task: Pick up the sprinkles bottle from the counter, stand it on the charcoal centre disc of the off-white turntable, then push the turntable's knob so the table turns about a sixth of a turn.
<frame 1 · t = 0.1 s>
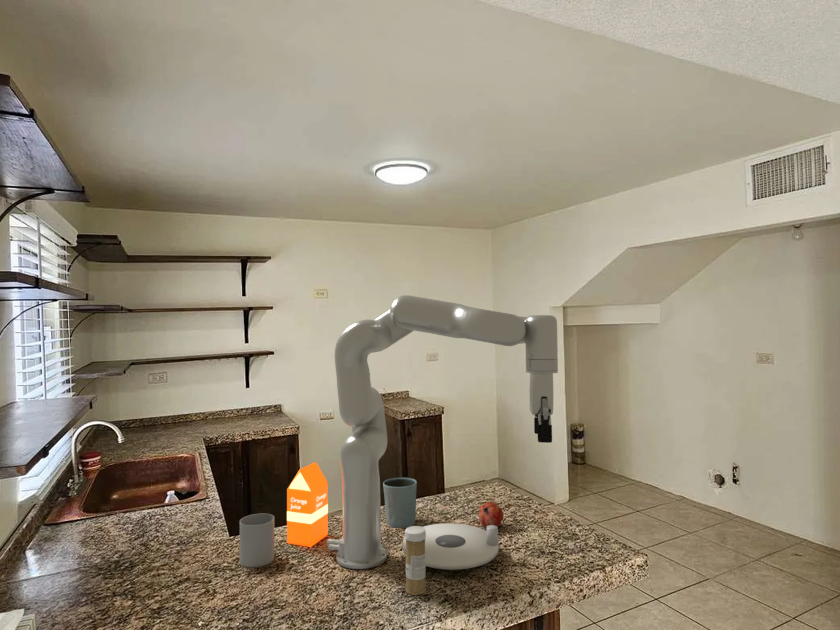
hand: (542, 437, 123), 31 cm above the counter, tool pointing down, fingers open, 9 cm apart
pomegranate: (491, 527, 148), on the counter
turntable: (450, 540, 129), point 4 cm above the counter, hinge at 0.0°
sprinkles bottle: (415, 591, 112), on the counter
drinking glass: (400, 523, 152), on the counter
cup: (257, 560, 128), on the counter
orange juice: (308, 539, 141), on the counter
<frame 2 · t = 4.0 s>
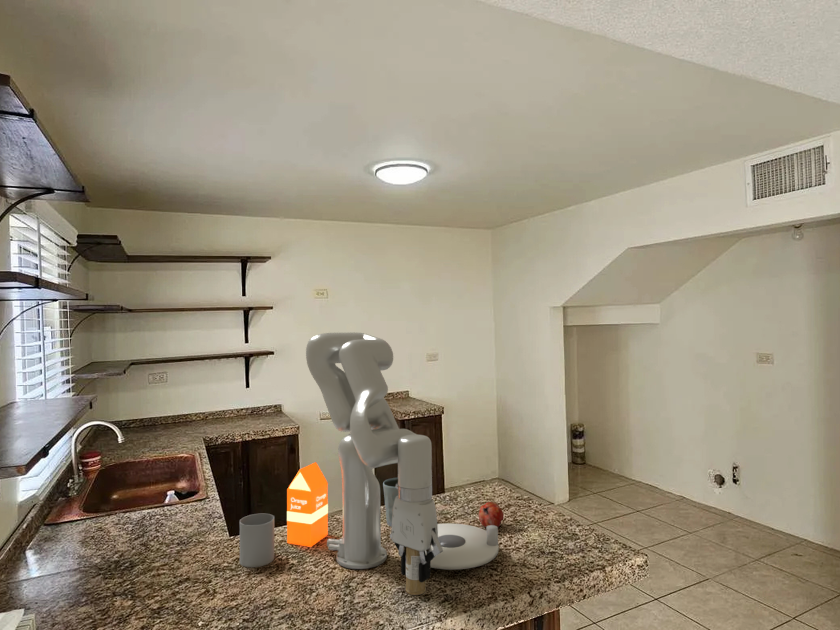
hand: (415, 575, 112), 3 cm above the counter, tool pointing down, fingers closed on sprinkles bottle, 4 cm apart
sprinkles bottle: (415, 591, 112), on the counter, touching gripper
everything else where it was.
when the fingers open (8 cm above the counter, at t = 10.7 s): sprinkles bottle drops 1 cm, resting on turntable.
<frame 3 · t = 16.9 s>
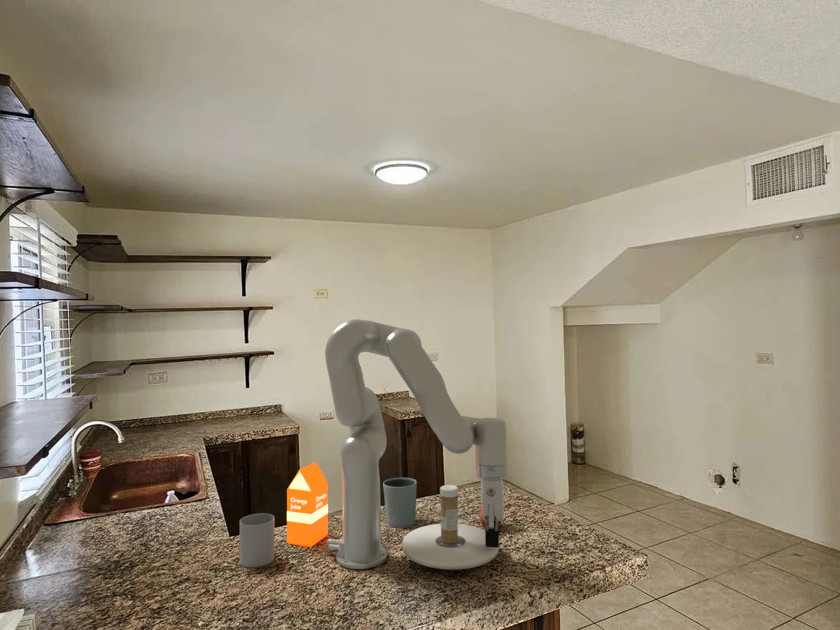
hand: (492, 545, 124), 5 cm above the counter, tool pointing down, fingers closed
turntable: (450, 540, 129), point 4 cm above the counter, hinge at 0.9°, touching gripper, sprinkles bottle
sprinkles bottle: (449, 541, 129), point 4 cm above the counter, touching turntable
everything else where it was.
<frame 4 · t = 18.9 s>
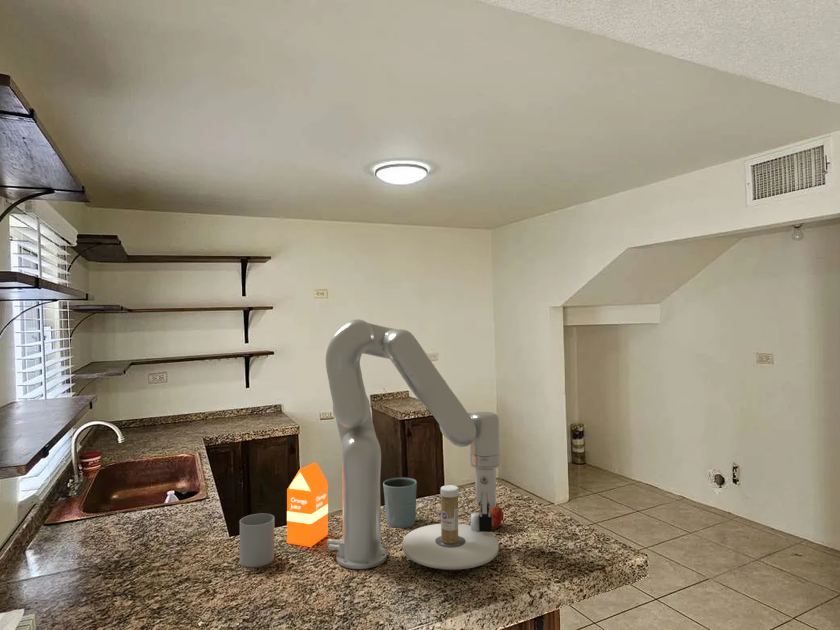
hand: (485, 530, 134), 5 cm above the counter, tool pointing down, fingers closed
turntable: (450, 540, 129), point 4 cm above the counter, hinge at 54.1°, touching gripper, sprinkles bottle
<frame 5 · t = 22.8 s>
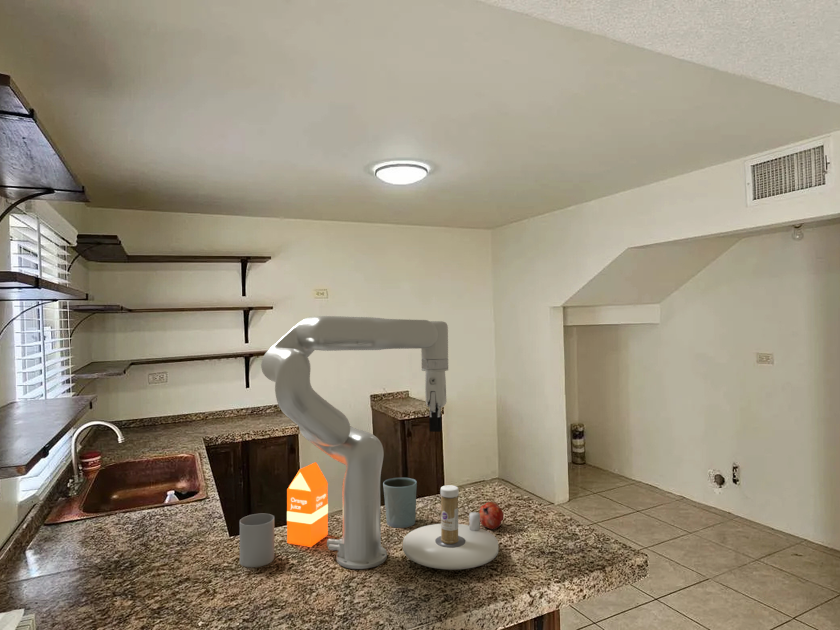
hand: (435, 430, 143), 29 cm above the counter, tool pointing down, fingers closed
turntable: (450, 540, 129), point 4 cm above the counter, hinge at 56.9°, touching sprinkles bottle
at the end: sprinkles bottle 0.2 cm from the turntable (horizontally); sprinkles bottle tilted 0°; turntable at +57° (first picture: +0°) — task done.
